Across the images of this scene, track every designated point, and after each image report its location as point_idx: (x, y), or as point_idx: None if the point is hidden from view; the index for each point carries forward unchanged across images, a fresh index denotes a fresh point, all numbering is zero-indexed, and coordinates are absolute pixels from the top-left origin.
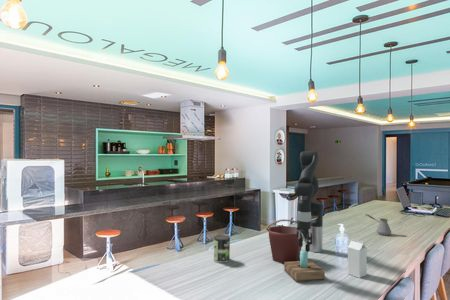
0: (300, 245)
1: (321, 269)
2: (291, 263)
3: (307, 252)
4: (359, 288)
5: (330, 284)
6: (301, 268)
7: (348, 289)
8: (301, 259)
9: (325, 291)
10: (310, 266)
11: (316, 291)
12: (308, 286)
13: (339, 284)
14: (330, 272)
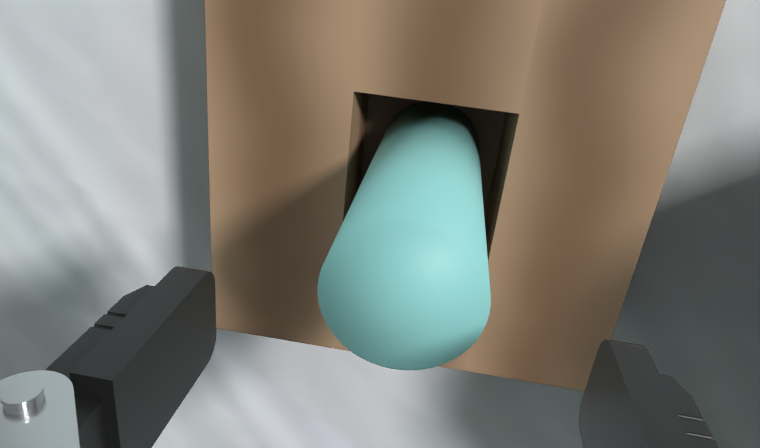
0: (600, 388)
1: (258, 321)
2: (610, 56)
3: (338, 337)
4: None
5: (153, 260)
6: (350, 93)
7: (44, 328)
8: (395, 166)
9: (4, 114)
10: None
11: (3, 20)
12: (128, 7)
13: None
14: (414, 435)
